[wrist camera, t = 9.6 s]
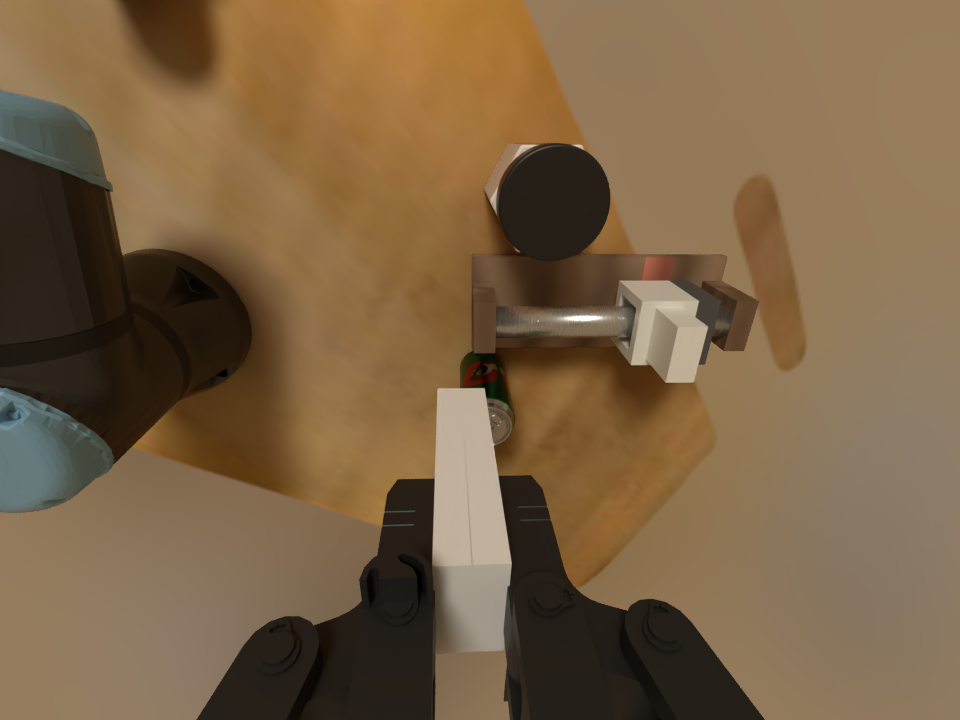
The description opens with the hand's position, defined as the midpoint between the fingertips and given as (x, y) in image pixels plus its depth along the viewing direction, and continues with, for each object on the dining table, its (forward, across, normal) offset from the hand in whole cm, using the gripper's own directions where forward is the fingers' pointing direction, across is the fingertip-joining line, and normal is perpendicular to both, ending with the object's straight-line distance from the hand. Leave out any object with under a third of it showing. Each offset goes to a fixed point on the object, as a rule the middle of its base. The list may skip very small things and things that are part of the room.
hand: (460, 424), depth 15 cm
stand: (+33, +15, -7) cm, 37 cm away
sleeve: (+30, +19, -7) cm, 36 cm away
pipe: (+28, +15, -7) cm, 33 cm away
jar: (+33, +8, +4) cm, 34 cm away
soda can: (+33, +4, -15) cm, 37 cm away
